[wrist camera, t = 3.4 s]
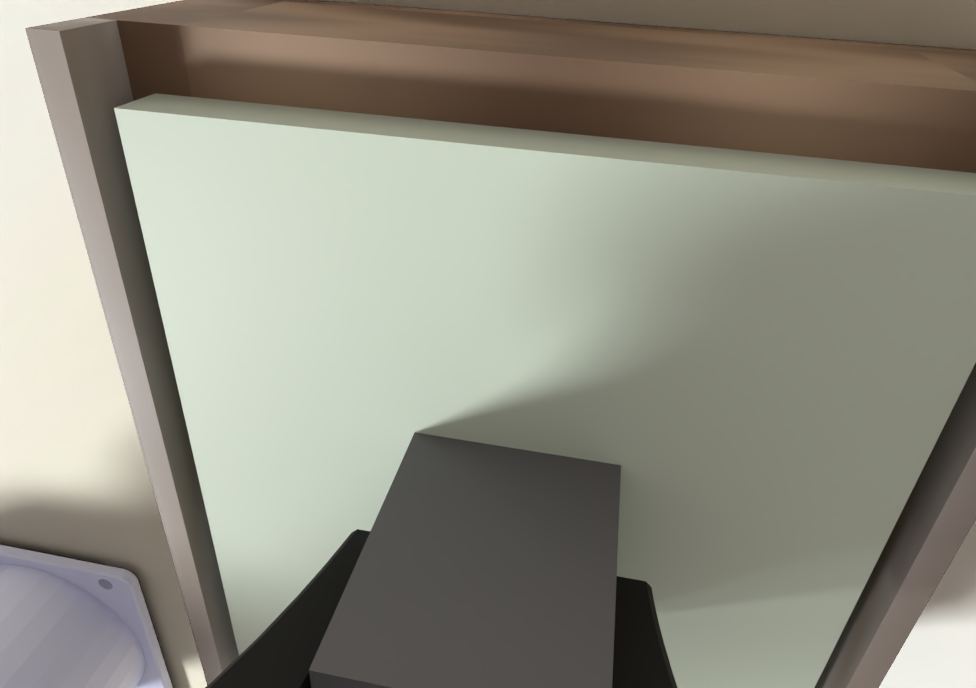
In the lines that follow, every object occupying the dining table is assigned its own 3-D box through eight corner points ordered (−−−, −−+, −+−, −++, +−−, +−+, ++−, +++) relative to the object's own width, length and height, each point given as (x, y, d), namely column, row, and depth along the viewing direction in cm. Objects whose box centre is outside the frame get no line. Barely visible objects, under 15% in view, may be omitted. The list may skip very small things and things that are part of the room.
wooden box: (299, 556, 22) (215, 713, 18) (222, -7, 14) (24, 28, 9) (757, 642, 20) (789, 842, 16) (993, 51, 12) (1201, 129, 7)
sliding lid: (265, 654, 18) (136, 906, 13) (155, 93, 11) (-213, 224, 6) (752, 757, 16) (794, 1083, 12) (1016, 177, 9) (1401, 442, 4)
